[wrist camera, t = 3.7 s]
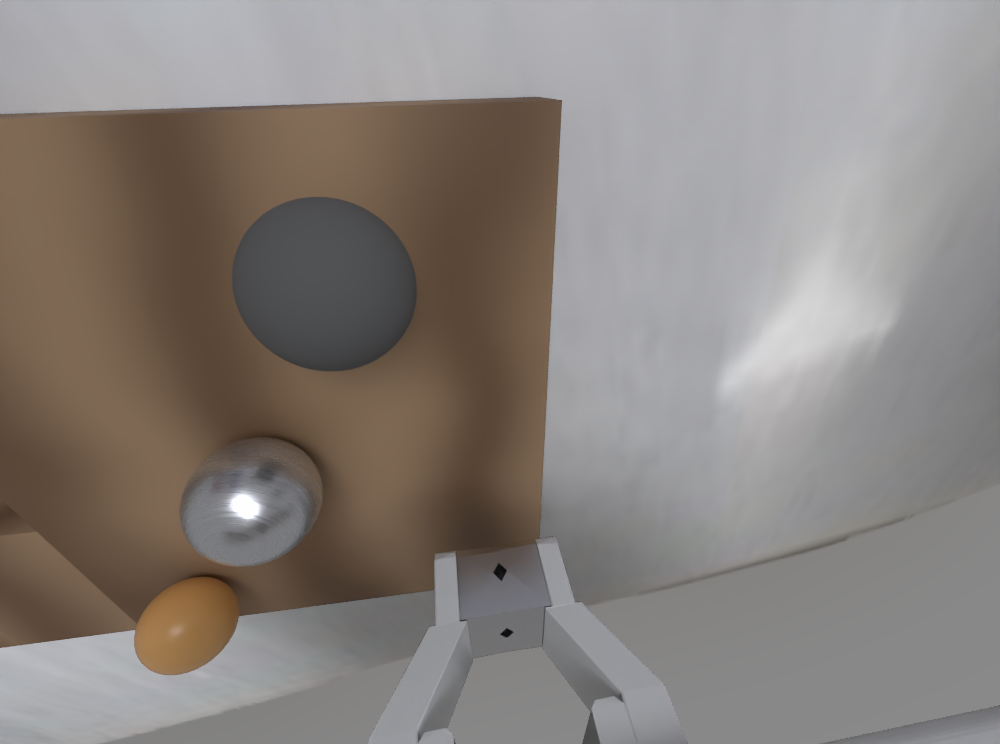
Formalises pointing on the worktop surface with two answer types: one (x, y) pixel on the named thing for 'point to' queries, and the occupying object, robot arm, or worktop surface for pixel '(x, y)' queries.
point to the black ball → (324, 284)
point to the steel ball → (251, 502)
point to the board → (262, 348)
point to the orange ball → (186, 625)
